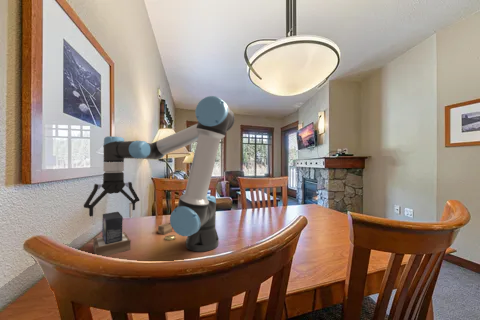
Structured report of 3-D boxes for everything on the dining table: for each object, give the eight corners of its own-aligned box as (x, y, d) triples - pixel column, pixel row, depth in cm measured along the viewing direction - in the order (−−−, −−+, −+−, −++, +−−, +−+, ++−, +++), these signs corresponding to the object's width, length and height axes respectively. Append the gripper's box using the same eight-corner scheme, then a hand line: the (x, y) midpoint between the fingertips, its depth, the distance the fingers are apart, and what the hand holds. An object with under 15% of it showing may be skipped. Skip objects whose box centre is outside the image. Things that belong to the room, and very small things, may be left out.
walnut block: (171, 232, 104) (172, 224, 104) (164, 235, 100) (164, 227, 100) (165, 230, 107) (166, 223, 107) (158, 233, 103) (158, 225, 103)
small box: (101, 237, 85) (101, 213, 85) (118, 233, 89) (118, 211, 89) (104, 245, 77) (105, 219, 77) (122, 240, 81) (123, 216, 82)
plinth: (130, 249, 83) (130, 239, 83) (95, 258, 75) (96, 247, 75) (124, 240, 92) (124, 231, 92) (93, 247, 84) (93, 238, 84)
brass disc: (163, 238, 96) (163, 236, 96) (173, 236, 99) (173, 234, 99) (166, 240, 92) (166, 238, 92) (177, 238, 95) (177, 236, 95)
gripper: (142, 170, 95) (142, 213, 94) (76, 172, 78) (75, 224, 78) (146, 171, 89) (146, 216, 89) (76, 173, 72) (75, 229, 72)
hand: (113, 220), depth 83 cm, fingers open, 13 cm apart
